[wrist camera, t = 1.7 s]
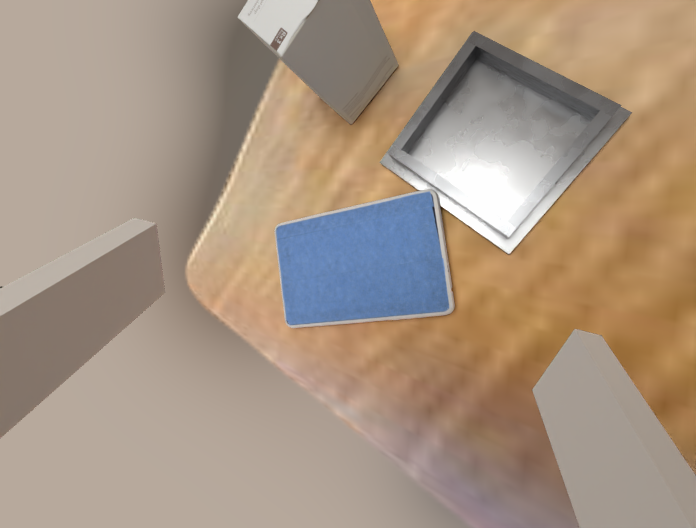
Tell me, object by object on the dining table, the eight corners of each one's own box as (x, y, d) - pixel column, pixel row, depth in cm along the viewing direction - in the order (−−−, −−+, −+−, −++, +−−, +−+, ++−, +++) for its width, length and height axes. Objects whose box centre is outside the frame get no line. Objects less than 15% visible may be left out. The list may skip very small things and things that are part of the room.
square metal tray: (472, 37, 34) (472, 16, 31) (628, 116, 29) (643, 100, 27) (381, 164, 37) (373, 155, 35) (508, 254, 33) (511, 253, 30)
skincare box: (364, 38, 38) (298, -93, 25) (402, 67, 37) (354, -55, 23) (317, 100, 40) (231, 12, 27) (350, 131, 39) (278, 53, 25)
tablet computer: (438, 188, 34) (435, 185, 33) (456, 314, 33) (455, 315, 32) (278, 225, 42) (272, 223, 41) (290, 328, 41) (284, 329, 40)
